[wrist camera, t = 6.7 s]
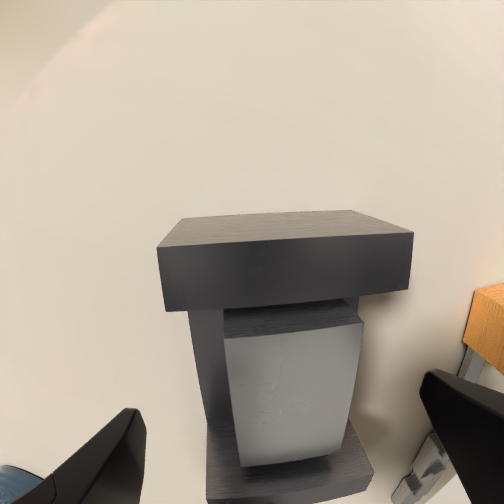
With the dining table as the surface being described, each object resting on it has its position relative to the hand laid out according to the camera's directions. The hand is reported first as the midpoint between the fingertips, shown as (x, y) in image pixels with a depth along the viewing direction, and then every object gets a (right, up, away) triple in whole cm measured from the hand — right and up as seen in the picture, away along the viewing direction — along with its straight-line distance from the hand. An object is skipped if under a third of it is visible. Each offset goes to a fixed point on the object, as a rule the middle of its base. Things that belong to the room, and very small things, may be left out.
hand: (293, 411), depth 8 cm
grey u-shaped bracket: (0, +1, +4) cm, 4 cm away
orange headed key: (+12, -7, +7) cm, 16 cm away
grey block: (0, +1, +3) cm, 3 cm away
